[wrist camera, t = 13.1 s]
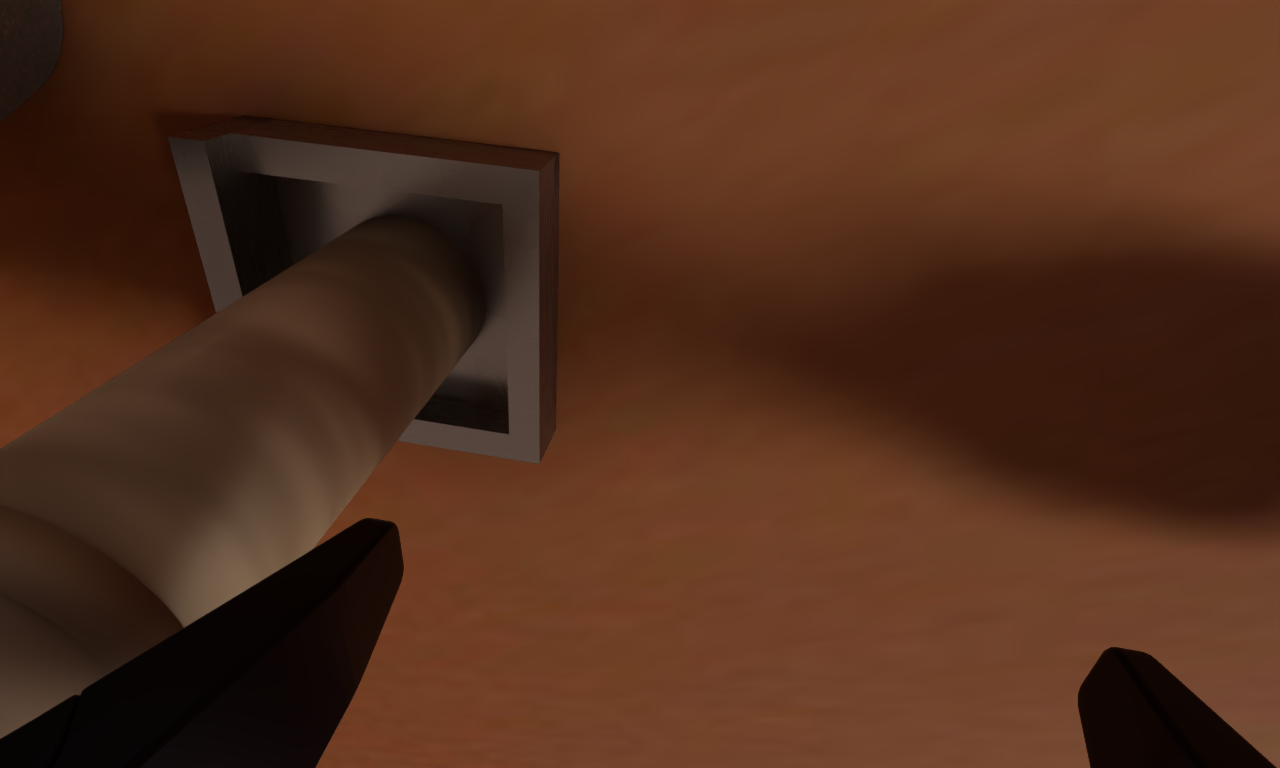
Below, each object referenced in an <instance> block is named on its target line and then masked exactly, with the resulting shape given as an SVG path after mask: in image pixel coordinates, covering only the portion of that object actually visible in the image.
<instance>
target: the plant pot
mask: <svg viewBox="0 0 1280 768" xmlns="http://www.w3.org/2000/svg"><path fill="white" fill-rule="evenodd" d="M62 37H63V23H62V11H61V1H60V0H0V122H1V121H3V120H4V119H5V118H6V117H7V116H8V115H10V114H11V113H12V112H13V111H14V110H15V109H17V108H18V107H19V106H20V105H21V104H22V103H23V102H24V101H25V100H27V99H28V98H29V97H30V96H31V95H32V94H33V93H34V92H35V91H36V90H37V89H39V88H40V87H41V86H42V85H43V84H44V83H45V82H46V80H47V79H48V78H49V77H50V75H51V73H52V71H53V69H54V67H55V65H56V63H57V61H58V58H59V54H60V51H61V44H62Z"/></svg>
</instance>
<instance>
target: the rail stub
mask: <svg viewBox="0 0 1280 768" xmlns="http://www.w3.org/2000/svg"><path fill="white" fill-rule="evenodd" d="M484 316H485V299H484V293H483V289H482V285H481V282H480V280H479V277H478V275H477V273H476V271H475V269H474V267H473V265H472V264H471V262H470V261H469V259H468V258H467V256H466V255H465V254H464V253H463V252H462V250H461V249H460V248H459V247H458V246H457V245H456V244H455V243H454V242H453V241H452V240H451V239H449V238H448V237H447V236H445V235H444V234H443V233H441V232H440V231H438V230H436V229H435V228H433V227H431V226H429V225H427V224H425V223H423V222H420V221H417V220H414V219H410V218H405V217H400V216H381V217H376V218H372V219H369V220H366V221H364V222H362V223H360V224H358V225H356V226H355V227H353V228H352V229H350V230H348V231H347V232H345V233H344V234H342V235H340V236H339V237H337V238H336V239H334V240H332V241H331V242H329V243H328V244H326V245H325V246H323V247H321V248H320V249H318V250H317V251H315V252H313V253H312V254H310V255H309V256H307V257H305V258H304V259H302V260H301V261H299V262H297V263H296V264H294V265H293V266H291V267H289V268H288V269H286V270H285V271H283V272H281V273H280V274H278V275H277V276H275V277H274V278H272V279H270V280H269V281H267V282H266V283H264V284H262V285H261V286H259V287H258V288H256V289H254V290H253V291H251V292H250V293H248V294H246V295H245V296H243V297H242V298H240V299H238V300H237V301H235V302H234V303H232V304H230V305H229V306H227V307H226V308H224V309H223V310H221V311H219V312H218V313H216V314H215V315H213V316H211V317H210V318H208V319H207V320H205V321H203V322H202V323H200V324H199V325H197V326H195V327H194V328H192V329H191V330H189V331H187V332H186V333H184V334H183V335H181V336H179V337H178V338H176V339H175V340H173V341H172V342H170V343H168V344H167V345H165V346H164V347H162V348H160V349H159V350H157V351H156V352H154V353H152V354H151V355H149V356H148V357H146V358H144V359H143V360H141V361H140V362H138V363H136V364H135V365H133V366H132V367H130V368H128V369H127V370H125V371H124V372H122V373H121V374H119V375H117V376H116V377H114V378H113V379H111V380H109V381H108V382H106V383H105V384H103V385H101V386H100V387H98V388H97V389H95V390H93V391H92V392H90V393H89V394H87V395H85V396H84V397H82V398H81V399H79V400H77V401H76V402H74V403H73V404H71V405H70V406H68V407H66V408H65V409H63V410H62V411H60V412H58V413H57V414H55V415H54V416H52V417H50V418H49V419H47V420H46V421H44V422H42V423H41V424H39V425H38V426H36V427H34V428H33V429H31V430H30V431H28V432H26V433H25V434H23V435H22V436H20V437H18V438H17V439H15V440H14V441H12V442H11V443H9V444H7V445H6V446H4V447H3V448H1V449H0V739H1V738H3V737H4V736H6V735H8V734H9V733H11V732H13V731H14V730H16V729H18V728H20V727H21V726H23V725H25V724H26V723H28V722H30V721H31V720H33V719H35V718H36V717H38V716H40V715H41V714H43V713H45V712H46V711H48V710H50V709H51V708H53V707H55V706H56V705H58V704H59V703H61V702H63V701H64V700H66V699H68V698H69V697H71V696H73V695H80V694H81V692H82V690H83V689H85V688H86V687H88V686H89V685H91V684H93V683H94V682H96V681H98V680H99V679H101V678H103V677H104V676H106V675H107V674H109V673H111V672H112V671H114V670H116V669H117V668H119V667H121V666H122V665H124V664H125V663H127V662H129V661H130V660H132V659H134V658H135V657H137V656H139V655H140V654H142V653H144V652H145V651H147V650H148V649H150V648H152V647H153V646H155V645H157V644H158V643H160V642H162V641H163V640H165V639H166V638H168V637H170V636H171V635H173V634H175V633H176V632H178V631H180V630H181V629H183V628H184V627H186V626H188V625H189V624H191V623H193V622H194V621H196V620H198V619H199V618H201V617H203V616H204V615H206V614H207V613H209V612H211V611H212V610H214V609H216V608H217V607H219V606H221V605H222V604H224V603H225V602H227V601H229V600H230V599H232V598H234V597H235V596H237V595H239V594H240V593H242V592H244V591H245V590H247V589H248V588H250V587H252V586H253V585H255V584H257V583H258V582H260V581H262V580H263V579H265V578H266V577H268V576H270V575H271V574H273V573H275V572H276V571H278V570H280V569H281V568H283V567H284V566H286V565H288V564H289V563H291V562H293V561H294V560H296V559H298V558H299V557H301V556H303V555H304V554H306V553H307V552H309V551H311V550H312V549H313V548H314V547H315V546H316V544H317V543H318V542H319V541H320V539H321V538H322V537H323V535H324V534H325V533H326V532H327V530H328V529H329V528H330V526H331V525H332V524H333V523H334V521H335V520H336V519H337V517H338V516H339V515H340V513H341V512H342V511H343V510H344V508H345V507H346V506H347V504H348V503H349V502H350V501H351V499H352V498H353V497H354V495H355V494H356V493H357V492H358V490H359V489H360V488H361V486H362V485H363V484H364V483H365V481H366V480H367V479H368V477H369V476H370V475H371V474H372V472H373V471H374V470H375V468H376V467H377V466H378V465H379V463H380V462H381V461H382V459H383V458H384V457H385V456H386V454H387V453H388V452H389V450H390V449H391V448H392V447H393V445H394V444H395V443H396V441H397V440H398V439H399V438H400V436H401V435H402V434H403V432H404V431H405V430H406V429H407V427H408V426H409V425H410V423H411V422H412V421H413V420H414V418H415V417H416V416H417V414H418V413H419V412H420V411H421V409H422V408H423V407H424V405H425V404H426V403H427V402H428V400H429V399H430V398H431V396H432V395H433V394H434V393H435V391H436V390H437V389H438V387H439V386H440V385H441V384H442V382H443V381H444V380H445V378H446V377H447V376H448V375H449V373H450V372H451V371H452V369H453V368H454V367H455V365H456V364H457V363H458V362H459V360H460V359H461V358H462V356H463V355H464V354H465V353H466V351H467V350H468V349H469V347H470V346H471V345H472V344H473V342H474V341H475V340H476V338H477V336H478V335H479V333H480V331H481V328H482V325H483V321H484Z"/></svg>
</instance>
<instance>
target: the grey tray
mask: <svg viewBox="0 0 1280 768" xmlns="http://www.w3.org/2000/svg"><path fill="white" fill-rule="evenodd" d="M168 140H169V144H170V147H171V151H172V155H173V158H174V162H175V165H176V169H177V173H178V176H179V180H180V184H181V187H182V191H183V195H184V198H185V202H186V205H187V209H188V213H189V216H190V220H191V224H192V227H193V231H194V235H195V238H196V242H197V245H198V249H199V253H200V256H201V260H202V264H203V267H204V271H205V275H206V278H207V282H208V285H209V289H210V293H211V296H212V300H213V304H214V307H215V311H216V313H218V312H219V311H221V310H223V309H224V308H226V307H227V306H229V305H230V304H232V303H234V302H235V301H237V300H238V299H240V298H242V297H243V296H245V295H246V294H248V293H250V292H251V291H253V290H254V289H256V288H258V287H259V286H261V285H262V284H264V283H266V282H267V281H269V280H270V279H272V278H274V277H275V276H277V275H278V274H280V273H281V272H283V271H285V270H286V269H288V268H289V267H291V266H293V265H294V264H296V263H297V262H299V261H301V260H302V259H304V258H305V257H307V256H309V255H310V254H312V253H313V252H315V251H317V250H318V249H320V248H321V247H323V246H325V245H326V244H328V243H329V242H331V241H332V240H334V239H336V238H337V237H339V236H340V235H342V234H344V233H345V232H347V231H348V230H350V229H352V228H353V227H355V226H356V225H358V224H360V223H362V222H364V221H366V220H369V219H372V218H376V217H381V216H400V217H405V218H410V219H414V220H417V221H420V222H423V223H425V224H427V225H429V226H431V227H433V228H435V229H436V230H438V231H440V232H441V233H443V234H444V235H445V236H447V237H448V238H449V239H451V240H452V241H453V242H454V243H455V244H456V245H457V246H458V247H459V248H460V249H461V250H462V252H463V253H464V254H465V255H466V256H467V258H468V259H469V261H470V262H471V264H472V265H473V267H474V269H475V271H476V273H477V275H478V277H479V280H480V282H481V285H482V289H483V293H484V299H485V316H484V321H483V325H482V328H481V331H480V333H479V335H478V336H477V338H476V340H475V341H474V342H473V344H472V345H471V346H470V347H469V349H468V350H467V351H466V353H465V354H464V355H463V356H462V358H461V359H460V360H459V362H458V363H457V364H456V365H455V367H454V368H453V369H452V371H451V372H450V373H449V375H448V376H447V377H446V378H445V380H444V381H443V382H442V384H441V385H440V386H439V387H438V389H437V390H436V391H435V393H434V394H433V395H432V396H431V398H430V399H429V400H428V402H427V403H426V404H425V405H424V407H423V408H422V409H421V411H420V412H419V413H418V414H417V416H416V417H415V418H414V420H413V421H412V422H411V423H410V425H409V426H408V427H407V429H406V430H405V431H404V432H403V434H402V435H401V436H400V438H399V439H398V440H397V441H402V442H408V443H414V444H421V445H427V446H433V447H439V448H445V449H451V450H457V451H463V452H470V453H476V454H482V455H488V456H494V457H500V458H506V459H512V460H519V461H525V462H531V463H537V464H540V462H541V460H542V457H543V455H544V453H545V451H546V449H547V447H548V445H549V442H550V440H551V438H552V436H553V434H554V432H555V429H556V359H557V286H558V212H559V153H555V152H547V151H538V150H530V149H521V148H513V147H504V146H496V145H488V144H479V143H471V142H462V141H454V140H445V139H437V138H428V137H420V136H412V135H403V134H395V133H386V132H378V131H369V130H361V129H352V128H344V127H336V126H327V125H319V124H310V123H302V122H293V121H285V120H276V119H268V118H260V117H251V116H240V117H236V118H233V119H229V120H226V121H222V122H219V123H215V124H212V125H208V126H205V127H201V128H197V129H194V130H190V131H187V132H183V133H180V134H176V135H173V136H169V137H168Z"/></svg>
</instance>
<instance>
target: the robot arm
mask: <svg viewBox="0 0 1280 768" xmlns="http://www.w3.org/2000/svg"><path fill="white" fill-rule="evenodd" d="M403 571H404V563H403V557H402V550H401V543H400V537H399V531H398V527H397V526H396V524H395V523H393V522H391V521H385V520H379V519H373V518H365V519H362V520H360V521H358V522H357V523H355V524H353V525H352V526H350V527H348V528H347V529H345V530H344V531H342V532H340V533H339V534H337V535H335V536H334V537H332V538H330V539H329V540H327V541H325V542H324V543H322V544H321V545H319V546H317V547H316V548H314V549H312V550H311V551H309V552H307V553H306V554H304V555H303V556H301V557H299V558H298V559H296V560H294V561H293V562H291V563H289V564H288V565H286V566H284V567H283V568H281V569H280V570H278V571H276V572H275V573H273V574H271V575H270V576H268V577H266V578H265V579H263V580H262V581H260V582H258V583H257V584H255V585H253V586H252V587H250V588H248V589H247V590H245V591H244V592H242V593H240V594H239V595H237V596H235V597H234V598H232V599H230V600H229V601H227V602H225V603H224V604H222V605H221V606H219V607H217V608H216V609H214V610H212V611H211V612H209V613H207V614H206V615H204V616H203V617H201V618H199V619H198V620H196V621H194V622H193V623H191V624H189V625H188V626H186V627H184V628H183V629H181V630H180V631H178V632H176V633H175V634H173V635H171V636H170V637H168V638H166V639H165V640H163V641H162V642H160V643H158V644H157V645H155V646H153V647H152V648H150V649H148V650H147V651H145V652H144V653H142V654H140V655H139V656H137V657H135V658H134V659H132V660H130V661H129V662H127V663H125V664H124V665H122V666H121V667H119V668H117V669H116V670H114V671H112V672H111V673H109V674H107V675H106V676H104V677H103V678H101V679H99V680H98V681H96V682H94V683H93V684H91V685H89V686H88V687H86V688H85V689H83V690H82V692H81V694H80V695H73V696H71V697H69V698H68V699H66V700H64V701H63V702H61V703H59V704H58V705H56V706H55V707H53V708H51V709H50V710H48V711H46V712H45V713H43V714H41V715H40V716H38V717H36V718H35V719H33V720H31V721H30V722H28V723H26V724H25V725H23V726H21V727H20V728H18V729H16V730H14V731H13V732H11V733H9V734H8V735H6V736H4V737H3V738H1V739H0V768H315V767H316V766H317V764H318V762H319V760H320V758H321V756H322V754H323V753H324V751H325V749H326V747H327V745H328V743H329V741H330V739H331V738H332V736H333V734H334V732H335V730H336V728H337V726H338V725H339V723H340V721H341V719H342V717H343V715H344V713H345V712H346V710H347V708H348V706H349V704H350V702H351V700H352V698H353V696H354V694H355V692H356V690H357V688H358V686H359V683H360V681H361V679H362V677H363V674H364V672H365V670H366V667H367V665H368V662H369V660H370V657H371V655H372V652H373V650H374V647H375V645H376V643H377V640H378V638H379V635H380V633H381V630H382V628H383V625H384V623H385V621H386V618H387V616H388V613H389V611H390V608H391V606H392V603H393V601H394V599H395V596H396V594H397V591H398V589H399V586H400V584H401V581H402V577H403ZM1078 709H1079V714H1080V719H1081V723H1082V728H1083V733H1084V738H1085V743H1086V748H1087V753H1088V758H1089V762H1090V767H1091V768H1276V767H1275V766H1274V765H1273V764H1272V763H1271V762H1270V761H1269V760H1267V759H1266V758H1265V757H1264V756H1263V755H1262V754H1261V753H1260V752H1259V751H1257V750H1256V749H1255V748H1254V747H1253V746H1252V745H1251V744H1250V743H1249V742H1247V741H1246V740H1245V739H1244V738H1243V737H1242V736H1241V735H1240V734H1239V733H1237V732H1236V731H1235V730H1234V729H1233V728H1232V727H1231V726H1230V725H1228V724H1227V723H1226V722H1225V721H1224V720H1223V719H1222V718H1221V717H1220V716H1218V715H1217V714H1216V713H1215V712H1214V711H1213V710H1212V709H1211V708H1210V707H1208V706H1207V705H1206V704H1205V703H1204V702H1203V701H1202V700H1201V699H1200V698H1198V697H1197V696H1196V695H1195V694H1194V693H1193V692H1192V691H1191V690H1189V689H1188V688H1187V687H1186V686H1185V685H1184V684H1183V683H1182V682H1181V681H1179V680H1178V679H1177V678H1176V677H1175V676H1174V675H1173V674H1172V673H1171V672H1169V671H1168V670H1167V669H1166V668H1165V667H1164V666H1163V665H1162V664H1161V663H1159V662H1158V661H1157V660H1156V659H1155V658H1153V657H1152V656H1151V655H1149V654H1147V653H1144V652H1141V651H1135V650H1130V649H1124V648H1118V647H1111V648H1109V649H1107V650H1105V651H1104V652H1103V653H1102V655H1101V656H1100V658H1099V659H1098V661H1097V662H1096V664H1095V665H1094V667H1093V668H1092V670H1091V671H1090V673H1089V674H1088V676H1087V677H1086V679H1085V680H1084V682H1083V683H1082V685H1081V687H1080V690H1079V693H1078Z"/></svg>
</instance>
